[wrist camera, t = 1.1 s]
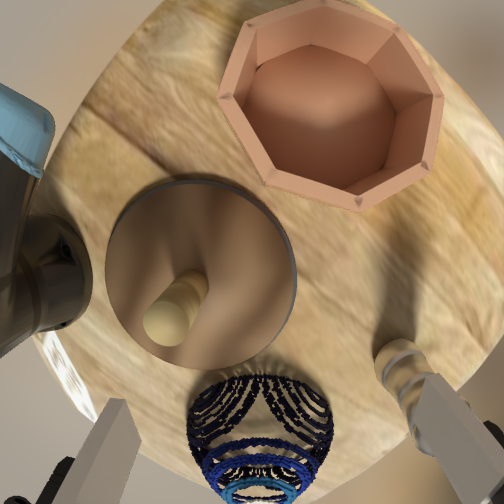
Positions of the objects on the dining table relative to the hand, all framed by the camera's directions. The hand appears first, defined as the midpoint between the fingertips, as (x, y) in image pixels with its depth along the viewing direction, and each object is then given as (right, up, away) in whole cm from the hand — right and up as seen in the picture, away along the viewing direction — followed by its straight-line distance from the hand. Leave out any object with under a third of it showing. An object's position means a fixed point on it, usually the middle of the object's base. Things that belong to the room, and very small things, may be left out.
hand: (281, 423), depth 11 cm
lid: (-7, +4, +21) cm, 23 cm away
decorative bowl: (0, -18, +26) cm, 32 cm away
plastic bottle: (+17, -6, +23) cm, 29 cm away
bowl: (+6, +21, +18) cm, 28 cm away
